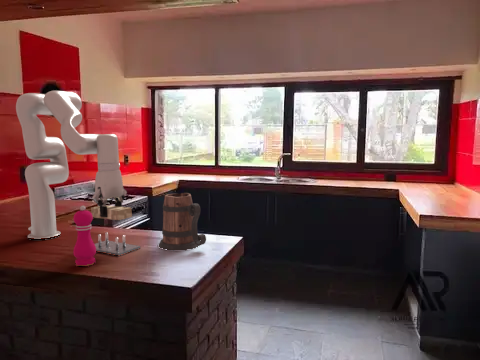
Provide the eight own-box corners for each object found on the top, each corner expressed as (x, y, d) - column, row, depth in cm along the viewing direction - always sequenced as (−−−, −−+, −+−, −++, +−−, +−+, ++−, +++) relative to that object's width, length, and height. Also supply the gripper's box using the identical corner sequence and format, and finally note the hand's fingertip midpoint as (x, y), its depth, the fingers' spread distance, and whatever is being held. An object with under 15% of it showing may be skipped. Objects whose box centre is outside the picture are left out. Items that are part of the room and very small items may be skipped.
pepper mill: (99, 260, 138) (97, 203, 136) (92, 267, 131) (89, 207, 129) (78, 260, 138) (75, 203, 136) (70, 267, 131) (67, 207, 128)
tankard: (148, 245, 157) (147, 194, 155) (183, 236, 169) (181, 190, 167) (186, 257, 141) (184, 201, 139) (220, 247, 153) (220, 196, 151)
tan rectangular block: (91, 217, 150) (91, 208, 150) (105, 214, 156) (104, 205, 156) (118, 220, 144) (118, 210, 143) (131, 216, 149) (131, 207, 149)
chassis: (83, 249, 151) (83, 235, 151) (106, 242, 161) (105, 229, 160) (118, 256, 143) (118, 241, 142) (140, 248, 152) (139, 234, 151)
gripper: (118, 165, 157) (121, 210, 159) (82, 169, 142) (85, 218, 144) (133, 166, 154) (135, 211, 156) (97, 169, 139) (100, 220, 141)
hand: (111, 214), depth 150 cm, fingers closed on tan rectangular block, 6 cm apart
